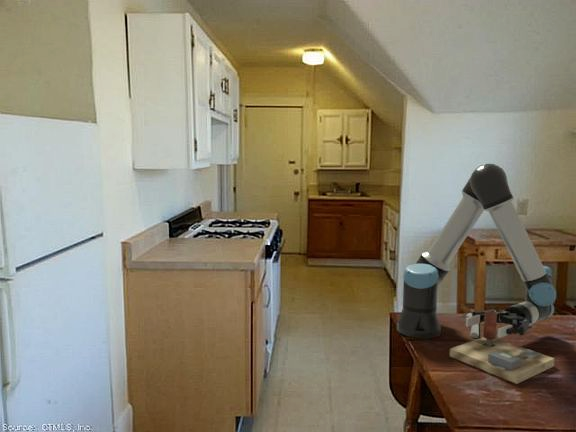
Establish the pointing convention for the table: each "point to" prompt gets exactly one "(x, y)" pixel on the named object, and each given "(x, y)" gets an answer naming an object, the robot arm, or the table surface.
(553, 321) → the table surface
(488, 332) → the awl
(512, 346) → the board
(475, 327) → the adjustable wrench
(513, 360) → the block
